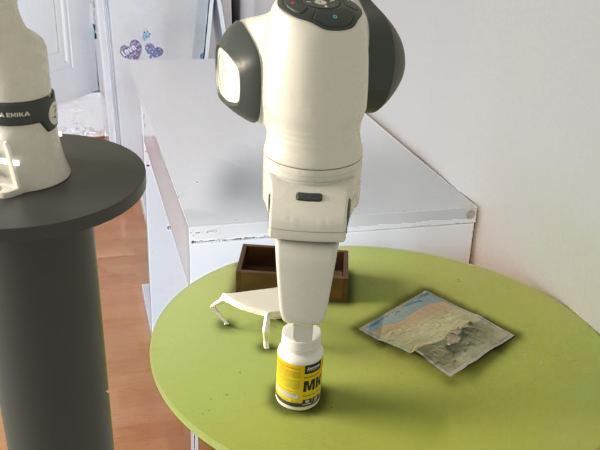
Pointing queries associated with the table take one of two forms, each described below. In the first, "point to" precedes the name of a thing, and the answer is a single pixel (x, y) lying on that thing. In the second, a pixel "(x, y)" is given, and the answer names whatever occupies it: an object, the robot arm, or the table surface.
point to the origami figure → (253, 306)
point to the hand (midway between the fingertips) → (305, 309)
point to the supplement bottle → (299, 370)
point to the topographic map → (437, 332)
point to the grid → (263, 275)
